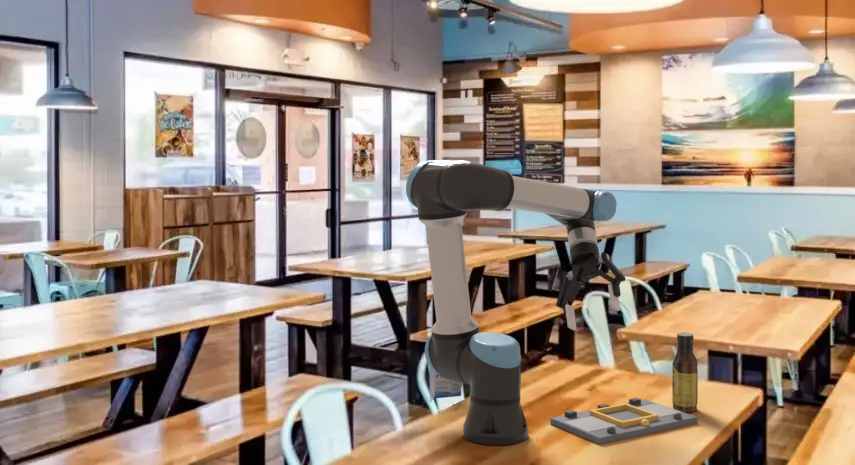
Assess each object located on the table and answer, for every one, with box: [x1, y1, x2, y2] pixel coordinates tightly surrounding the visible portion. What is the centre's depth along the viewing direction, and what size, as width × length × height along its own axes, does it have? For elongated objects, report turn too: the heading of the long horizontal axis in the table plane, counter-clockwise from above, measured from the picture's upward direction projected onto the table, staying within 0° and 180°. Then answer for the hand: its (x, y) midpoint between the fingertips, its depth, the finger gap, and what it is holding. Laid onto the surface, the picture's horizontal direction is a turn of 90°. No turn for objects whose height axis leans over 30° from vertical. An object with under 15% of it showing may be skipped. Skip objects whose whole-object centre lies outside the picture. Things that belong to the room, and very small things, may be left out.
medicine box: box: [429, 367, 462, 399], centre depth 242 cm, size 8×4×9 cm, turn 105°
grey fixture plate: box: [549, 397, 698, 445], centre depth 216 cm, size 31×18×3 cm, turn 120°
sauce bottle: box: [671, 332, 699, 414], centre depth 226 cm, size 7×6×20 cm
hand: (593, 319), depth 221 cm, fingers open, 13 cm apart
